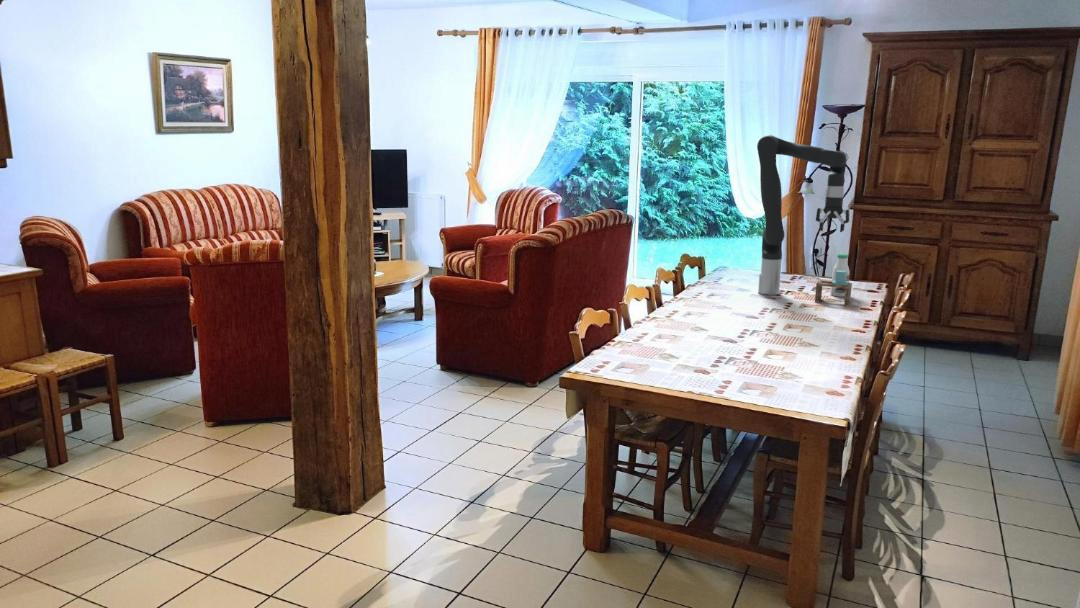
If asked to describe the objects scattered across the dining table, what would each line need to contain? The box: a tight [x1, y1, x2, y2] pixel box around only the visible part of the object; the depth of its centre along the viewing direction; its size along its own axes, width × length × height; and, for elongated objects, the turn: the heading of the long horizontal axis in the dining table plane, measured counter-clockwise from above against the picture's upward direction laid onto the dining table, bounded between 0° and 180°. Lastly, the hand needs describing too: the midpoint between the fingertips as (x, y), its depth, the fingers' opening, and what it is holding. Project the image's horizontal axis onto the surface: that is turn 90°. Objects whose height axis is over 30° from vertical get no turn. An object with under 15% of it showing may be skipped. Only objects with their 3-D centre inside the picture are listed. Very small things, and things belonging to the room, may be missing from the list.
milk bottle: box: [830, 253, 850, 298], centre depth 368 cm, size 8×8×20 cm
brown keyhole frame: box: [814, 279, 853, 307], centre depth 354 cm, size 14×9×9 cm, turn 60°
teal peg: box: [832, 270, 850, 293], centre depth 352 cm, size 7×7×10 cm
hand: (831, 231), depth 354 cm, fingers open, 8 cm apart
